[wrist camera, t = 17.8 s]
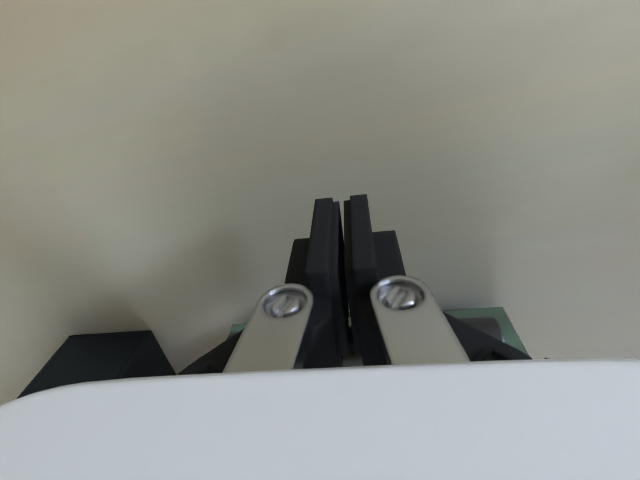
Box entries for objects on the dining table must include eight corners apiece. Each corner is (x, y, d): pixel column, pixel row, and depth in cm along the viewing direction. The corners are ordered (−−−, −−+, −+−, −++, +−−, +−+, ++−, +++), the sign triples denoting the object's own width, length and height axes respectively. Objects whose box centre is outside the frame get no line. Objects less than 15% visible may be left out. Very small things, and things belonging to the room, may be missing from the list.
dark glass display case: (69, 335, 20) (-32, 454, 15) (150, 330, 20) (77, 451, 14) (129, 415, 24) (68, 531, 19) (197, 413, 24) (154, 532, 18)
